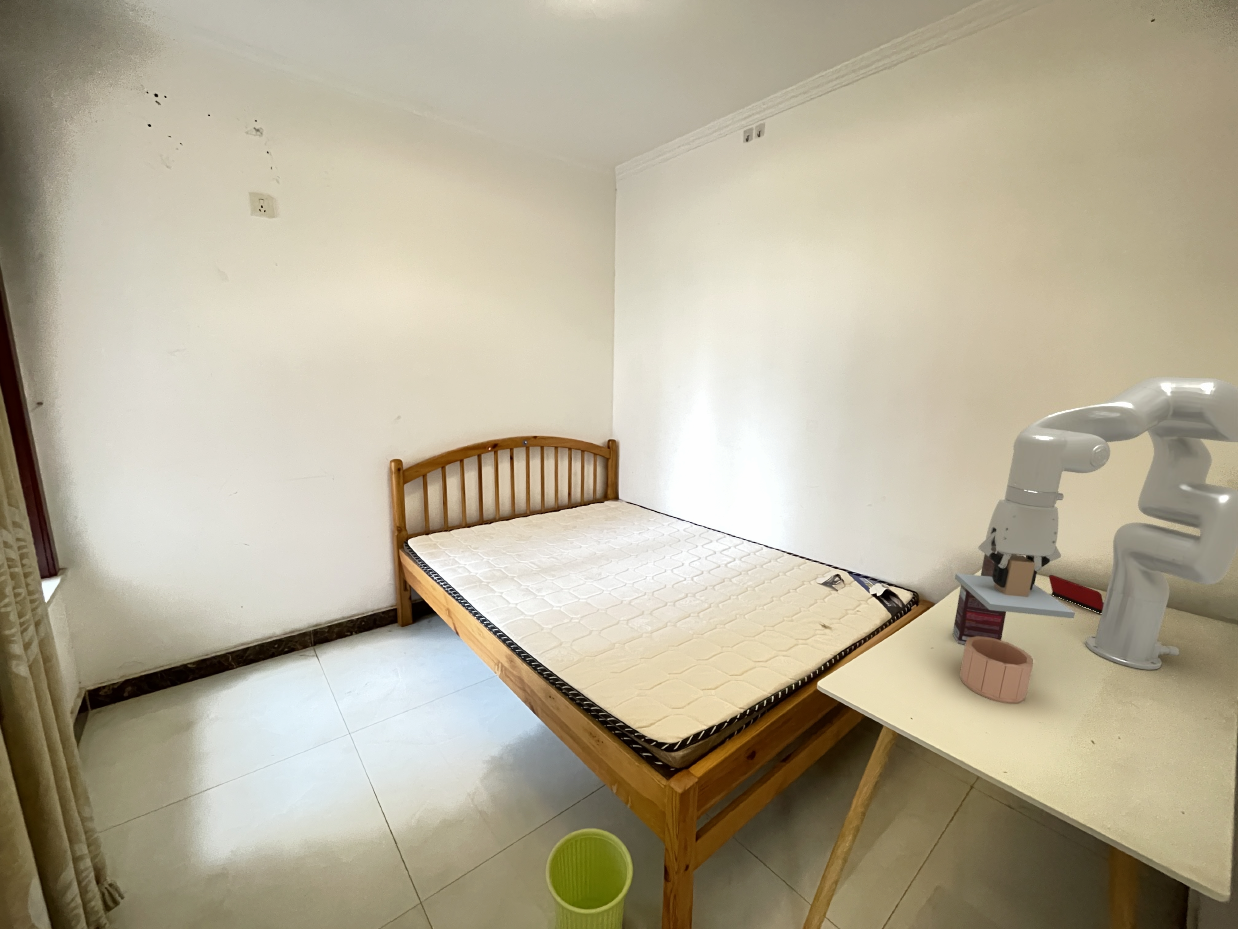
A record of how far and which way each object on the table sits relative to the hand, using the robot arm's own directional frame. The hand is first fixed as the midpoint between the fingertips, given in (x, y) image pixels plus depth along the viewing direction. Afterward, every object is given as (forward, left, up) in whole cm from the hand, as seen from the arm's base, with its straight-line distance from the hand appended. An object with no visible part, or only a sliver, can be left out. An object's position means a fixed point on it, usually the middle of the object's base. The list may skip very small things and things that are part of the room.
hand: (1012, 585), depth 99 cm
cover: (0, 0, -3) cm, 3 cm away
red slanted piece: (-46, -47, -23) cm, 70 cm away
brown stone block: (-22, -45, -23) cm, 55 cm away
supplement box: (-5, -18, -23) cm, 30 cm away
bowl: (0, 0, -23) cm, 23 cm away
